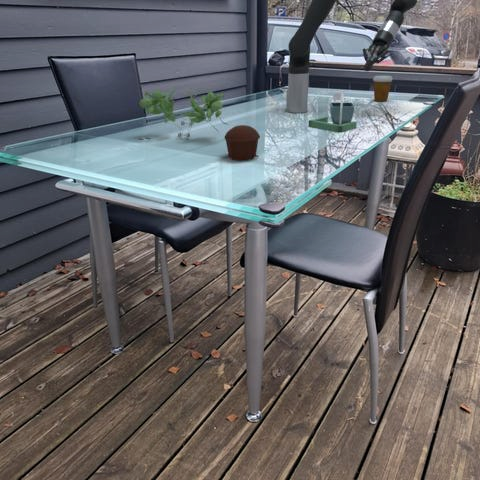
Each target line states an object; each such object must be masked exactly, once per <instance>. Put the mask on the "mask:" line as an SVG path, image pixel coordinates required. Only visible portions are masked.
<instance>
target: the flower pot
mask: <svg viewBox="0 0 480 480" xmlns="http://www.w3.org/2000/svg"><path fill="white" fill-rule="evenodd" d="M329 104H330V105H329V106H330V119H331V122H332V124H337V125H339V119H340V104H341V102H330V103H329ZM354 111H355V105H354V103H353V102H343V106H342V120H341V125H342V124H345V123H349V122H353V117H354Z"/></svg>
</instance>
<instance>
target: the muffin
mask: <svg viewBox="0 0 480 480" xmlns="http://www.w3.org/2000/svg"><path fill="white" fill-rule="evenodd" d="M223 138H224V140H225V143H226V147H227V155H228V158H229V159H231V160H232V161H240V162H241V160H242V161H250V160H253V159H252V158H254V157H257V151H258V145H259V139H260V138H261V136H260V134H259V132H258V131H257V130H256V129H255V127H252V126H250V125H246V124H245V125H243V124H242V125H235V126H233V127H232V128H230V129H229V130H228V131H227V132H226V133H225V135H224V136H223ZM249 159H250V160H249ZM254 159H255V158H254Z"/></svg>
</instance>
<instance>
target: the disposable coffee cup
mask: <svg viewBox="0 0 480 480" xmlns="http://www.w3.org/2000/svg"><path fill="white" fill-rule="evenodd" d="M372 80H373V95H374V97H373V101H374V102H375V101H376V102H377V103H387V102H388V99H389V93H390V91H391V85H392V81H393V80H394V79H393V76H391V75H375V76H373V79H372ZM376 102H375V103H376Z"/></svg>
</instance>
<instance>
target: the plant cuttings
mask: <svg viewBox="0 0 480 480" xmlns="http://www.w3.org/2000/svg"><path fill="white" fill-rule="evenodd" d="M169 91H170V92H171V93H169ZM191 91H193V92H194V93H195V96H194V95H193V96H192V94H191ZM175 93H176V90H175V88H174V89H173V88H170V89H168V91H167V92H163V91H161V89H156V90H154V91H153V92H152V93H150V91H148V90H146V91H145V93H144V96H145V97H144V98H142V99H141V100H140V101H139V102H138V105H139V106H140V107H141V108H143V109H144V111H145V112H146V115H150V114H152V115H161V114H163V115H164V116H162V118H163V122H164V123H165V124H168V121H171V122H173V124H174V125H175V126H177V125H176V123H174V122H176V119H177V116H175V112H174V105H175V103H174V102H175V101H174V100H175V96H173V94H175ZM187 93H188V95H189V96H190V97H189V98H190V100H189V102H188V104H190V105H191V107H190V106H188V108H190V110H189V111H187V112H185V113H179V112H178V113H177V115H181V116H185V117H188V121H189V123H188V122H185V121H186V120H187V118H183V120H181V121H180V125H181V128H180V126H178V128H179V129H180V130H181V131H179V132H178V133H177V137H178V138H182V136H186V138H185V140H188V139H189V138H190V137H191V135H190V134H191V129H192V126H193V125H194V124H199V123H202V122H203V121H204V122H211V119H212V116H214V114H215V118H216V119H217V118H219V120H220V121H221V123H222V124H224V125H229V123H226V122H224V121H223V119H222V118H221V115H222V110H221V109H223V102H222V101H221V100H219V99H223V100H224V99H225V96H224V94H223V93H219V94H218V93H217V94H216V93H215V92H212V91H208V93H207V94H206V95H205V94H202V96H201V98H199V99H198V100H196V99H194V97H196V96H197V95H198V93H197V92H196V91H195V90H194V89H188V90H187ZM147 96H148V97H147ZM166 96H167V97H166ZM172 96H173V98H172V99H171V97H172ZM198 101H199V103H201V101H202V102H204V103H205V104H204V105H203V108H202V107H201V106H200V105H199V104H198ZM158 107H159V108H158ZM204 110H206V113H205V111H204ZM185 124H186V125H187V127H189V128H188V130H187V133H186V132H185V134H184V130H183V129H184V128H185ZM211 126H212V127H213V128H214V129H215V130H216V131H217V132H218V133H219V130H218V129H217V128H216V127H215V126H214V125H213V124H211Z"/></svg>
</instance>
